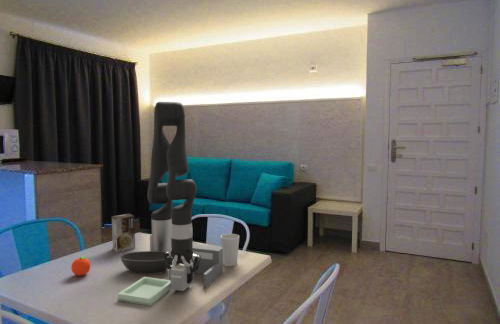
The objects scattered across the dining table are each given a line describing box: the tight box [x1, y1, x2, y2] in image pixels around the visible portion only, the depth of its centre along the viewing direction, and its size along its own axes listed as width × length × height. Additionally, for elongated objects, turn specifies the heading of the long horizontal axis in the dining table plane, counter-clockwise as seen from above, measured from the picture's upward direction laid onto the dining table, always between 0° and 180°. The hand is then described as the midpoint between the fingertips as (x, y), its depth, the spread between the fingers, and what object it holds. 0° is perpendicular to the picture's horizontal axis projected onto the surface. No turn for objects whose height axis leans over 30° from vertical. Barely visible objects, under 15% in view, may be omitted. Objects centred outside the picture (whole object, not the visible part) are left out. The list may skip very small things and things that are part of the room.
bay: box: [168, 244, 224, 288], centre depth 145 cm, size 15×16×10 cm
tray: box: [117, 276, 172, 307], centre depth 131 cm, size 12×15×2 cm
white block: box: [170, 262, 195, 292], centre depth 134 cm, size 5×9×8 cm, turn 162°
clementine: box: [70, 256, 92, 277], centre depth 148 cm, size 8×7×7 cm
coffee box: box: [111, 213, 136, 253], centre depth 180 cm, size 9×6×16 cm
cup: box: [220, 233, 240, 267], centre depth 160 cm, size 8×8×12 cm
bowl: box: [119, 250, 174, 275], centre depth 152 cm, size 12×22×6 cm, turn 90°
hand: (182, 281), depth 134 cm, fingers closed on white block, 5 cm apart
